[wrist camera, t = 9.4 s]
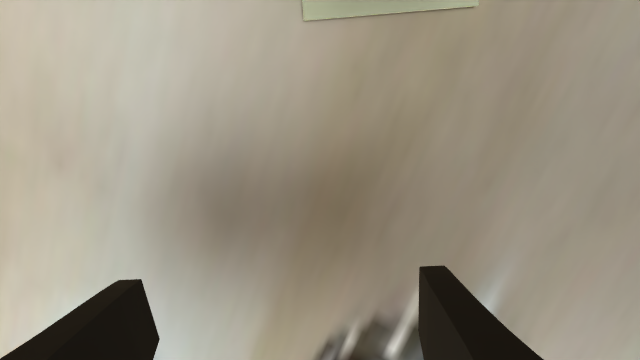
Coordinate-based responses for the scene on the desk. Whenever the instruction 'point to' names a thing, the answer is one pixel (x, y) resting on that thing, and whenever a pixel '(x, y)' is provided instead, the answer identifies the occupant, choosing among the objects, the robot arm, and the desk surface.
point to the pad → (374, 7)
